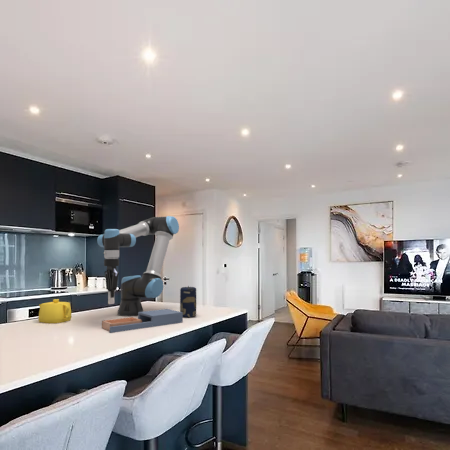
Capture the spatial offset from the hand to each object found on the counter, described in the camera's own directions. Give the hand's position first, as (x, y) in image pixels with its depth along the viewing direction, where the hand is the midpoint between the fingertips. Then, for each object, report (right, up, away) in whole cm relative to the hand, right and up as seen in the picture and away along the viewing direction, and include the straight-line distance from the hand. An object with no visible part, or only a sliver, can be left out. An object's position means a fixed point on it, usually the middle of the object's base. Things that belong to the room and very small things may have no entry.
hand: (111, 303), depth 181 cm
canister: (+38, -13, +23) cm, 46 cm away
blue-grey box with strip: (+16, -10, -2) cm, 20 cm away
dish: (+8, -10, -9) cm, 15 cm away
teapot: (-34, -12, +9) cm, 37 cm away
